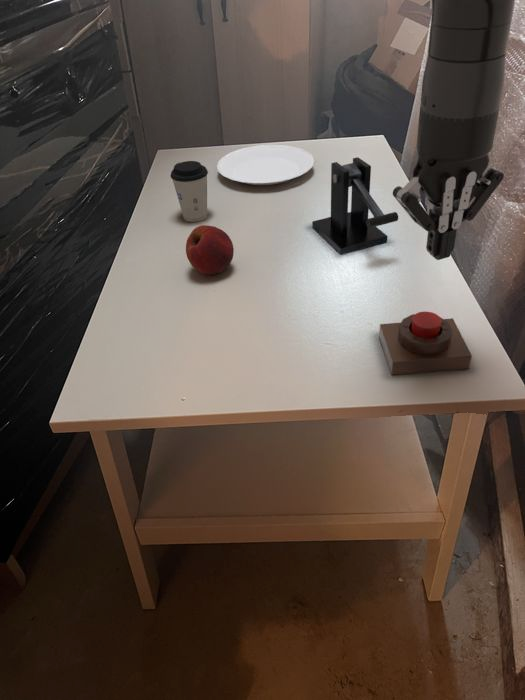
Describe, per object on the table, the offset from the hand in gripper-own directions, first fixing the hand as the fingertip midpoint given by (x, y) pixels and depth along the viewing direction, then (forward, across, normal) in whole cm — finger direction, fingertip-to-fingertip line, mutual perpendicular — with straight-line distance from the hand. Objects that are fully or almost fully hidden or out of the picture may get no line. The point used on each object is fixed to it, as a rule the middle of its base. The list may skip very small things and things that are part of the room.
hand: (439, 255), depth 69 cm
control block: (+15, 0, 0) cm, 15 cm away
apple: (+14, -20, +33) cm, 41 cm away
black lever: (+6, +6, +29) cm, 30 cm away
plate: (+14, +2, +66) cm, 68 cm away
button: (+11, 0, 0) cm, 11 cm away
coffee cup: (+14, -17, +53) cm, 58 cm away
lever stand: (+15, +6, +33) cm, 37 cm away
